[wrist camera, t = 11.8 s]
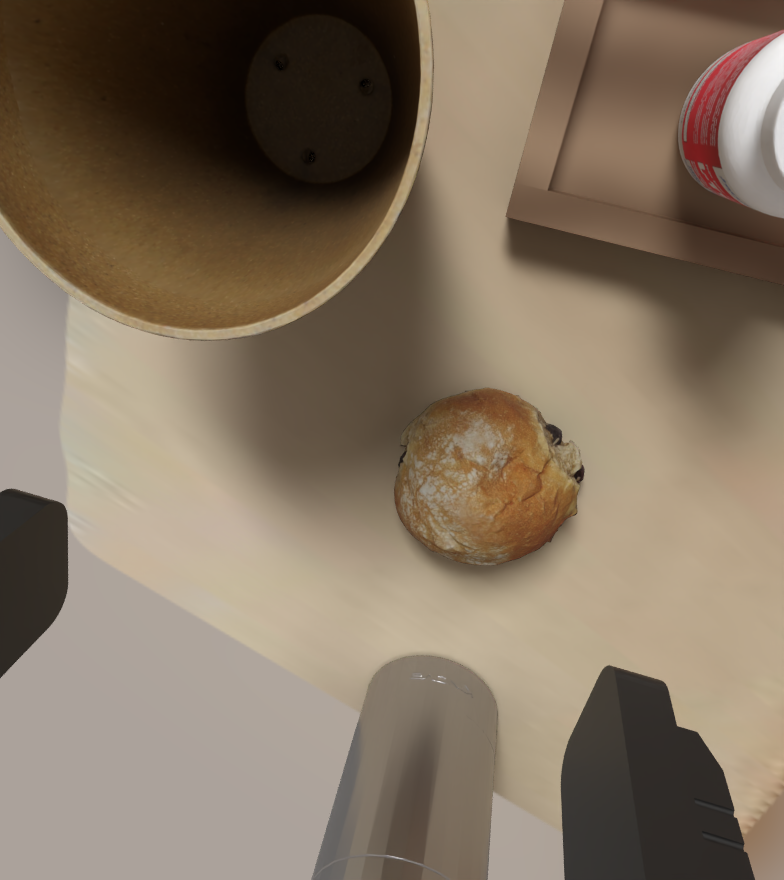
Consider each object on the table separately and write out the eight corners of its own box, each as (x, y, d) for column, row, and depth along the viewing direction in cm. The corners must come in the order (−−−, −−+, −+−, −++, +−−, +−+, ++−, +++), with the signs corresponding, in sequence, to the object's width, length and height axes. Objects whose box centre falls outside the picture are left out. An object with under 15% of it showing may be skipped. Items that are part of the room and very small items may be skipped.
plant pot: (499, 224, 34) (475, 298, 20) (229, 277, 38) (44, 371, 23) (446, -143, 28) (358, -412, 14) (135, -37, 32) (-184, -166, 18)
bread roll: (448, 355, 41) (367, 389, 35) (614, 404, 36) (551, 453, 30) (431, 498, 45) (356, 549, 39) (577, 560, 40) (516, 630, 34)
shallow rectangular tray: (880, 302, 32) (906, 315, 30) (507, 210, 34) (505, 217, 31) (1039, 7, 27) (1085, -3, 25) (588, -87, 28) (593, -105, 26)
